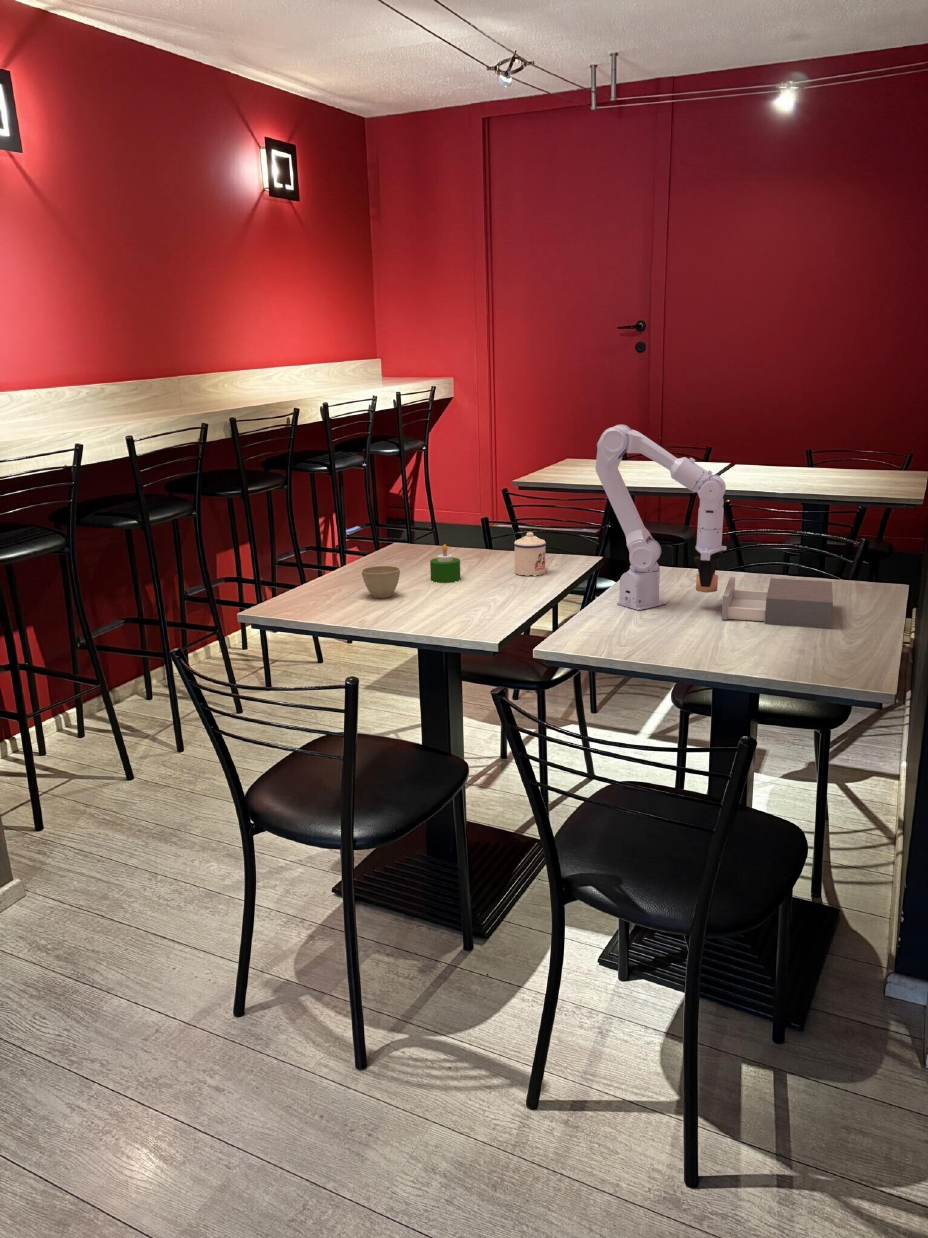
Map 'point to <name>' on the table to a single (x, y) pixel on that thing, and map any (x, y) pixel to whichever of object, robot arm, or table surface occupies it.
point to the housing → (799, 603)
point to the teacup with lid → (529, 555)
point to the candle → (445, 568)
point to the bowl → (381, 580)
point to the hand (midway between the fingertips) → (706, 583)
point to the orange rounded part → (707, 589)
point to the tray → (743, 603)
